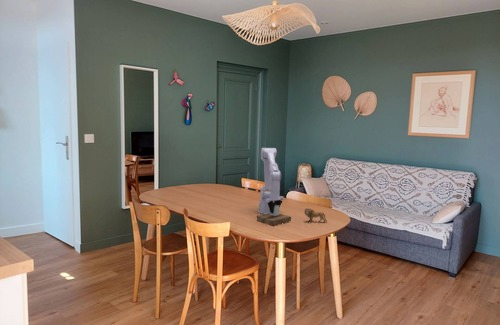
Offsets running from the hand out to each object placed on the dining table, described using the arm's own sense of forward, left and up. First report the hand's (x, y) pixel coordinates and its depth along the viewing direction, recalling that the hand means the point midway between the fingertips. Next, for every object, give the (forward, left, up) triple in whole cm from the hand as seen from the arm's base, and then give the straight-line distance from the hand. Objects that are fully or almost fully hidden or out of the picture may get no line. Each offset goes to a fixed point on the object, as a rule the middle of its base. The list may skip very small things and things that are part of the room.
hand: (274, 212), depth 228 cm
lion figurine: (+17, +19, -6) cm, 26 cm away
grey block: (0, 0, -2) cm, 2 cm away
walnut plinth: (0, 0, -6) cm, 6 cm away
